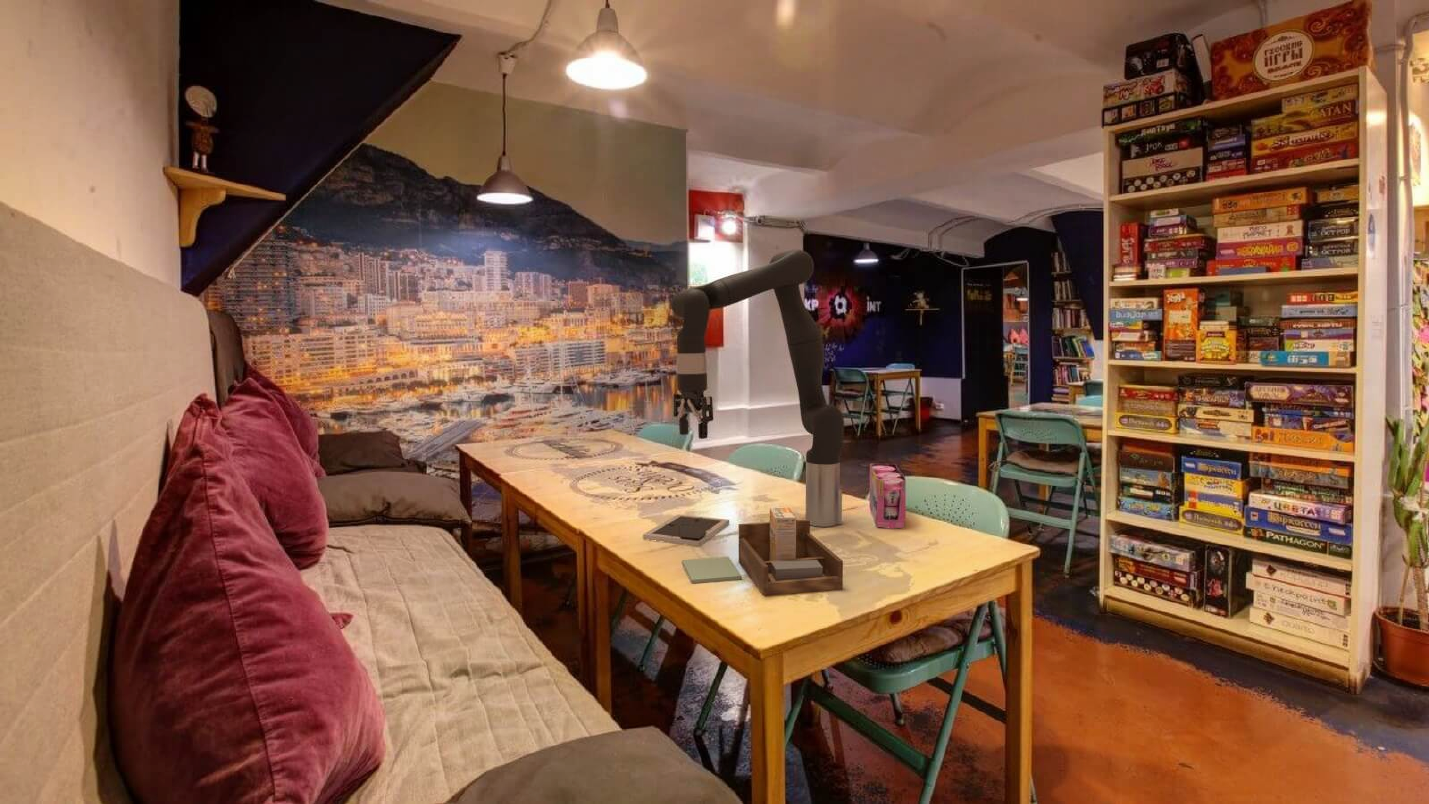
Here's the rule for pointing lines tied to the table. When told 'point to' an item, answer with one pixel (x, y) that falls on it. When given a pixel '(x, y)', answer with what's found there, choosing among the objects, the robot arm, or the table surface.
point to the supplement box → (782, 534)
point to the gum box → (887, 495)
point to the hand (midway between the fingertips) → (693, 436)
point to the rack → (807, 548)
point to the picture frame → (687, 530)
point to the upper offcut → (796, 570)
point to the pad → (711, 569)
